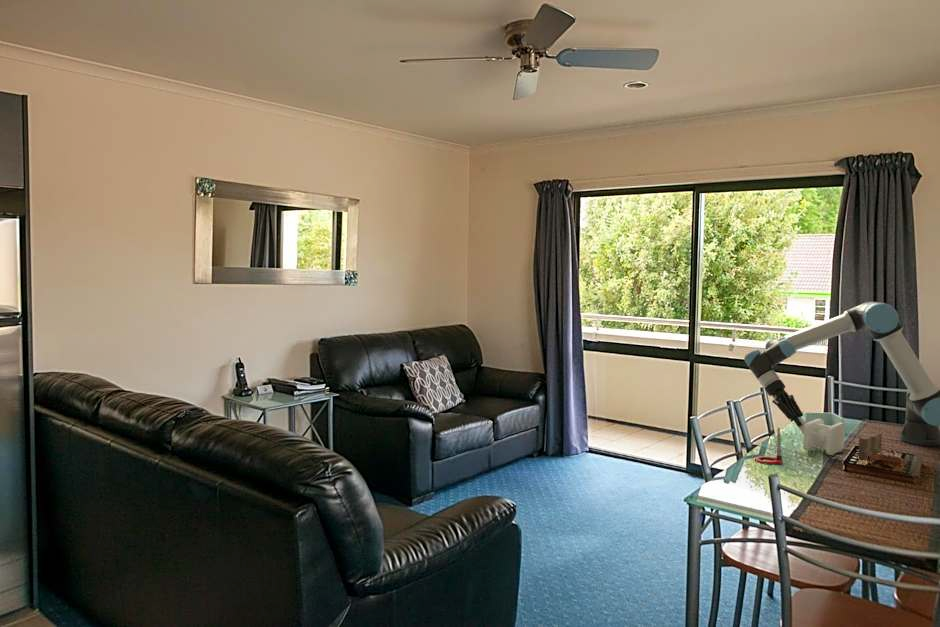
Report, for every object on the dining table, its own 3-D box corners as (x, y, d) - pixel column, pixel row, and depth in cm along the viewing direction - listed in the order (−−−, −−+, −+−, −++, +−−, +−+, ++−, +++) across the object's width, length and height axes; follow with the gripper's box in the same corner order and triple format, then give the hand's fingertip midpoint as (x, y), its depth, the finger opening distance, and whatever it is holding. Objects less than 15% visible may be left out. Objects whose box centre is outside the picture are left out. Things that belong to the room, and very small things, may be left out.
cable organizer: (829, 458, 261) (831, 428, 260) (801, 451, 269) (803, 422, 268) (844, 451, 271) (846, 422, 270) (816, 444, 279) (818, 416, 278)
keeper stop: (845, 452, 270) (846, 427, 269) (880, 460, 260) (881, 433, 259) (827, 458, 262) (828, 432, 261) (863, 466, 251) (865, 439, 250)
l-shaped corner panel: (804, 428, 312) (805, 412, 312) (832, 429, 311) (833, 413, 310) (814, 434, 301) (814, 417, 300) (843, 435, 299) (843, 418, 298)
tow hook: (756, 464, 254) (783, 465, 251) (755, 430, 253) (782, 430, 251) (753, 458, 262) (779, 459, 259) (752, 425, 261) (779, 425, 259)
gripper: (774, 387, 292) (808, 435, 281) (756, 390, 284) (791, 439, 273) (787, 377, 288) (823, 425, 276) (770, 380, 280) (806, 430, 268)
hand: (807, 432), depth 275 cm, fingers closed on cable organizer
